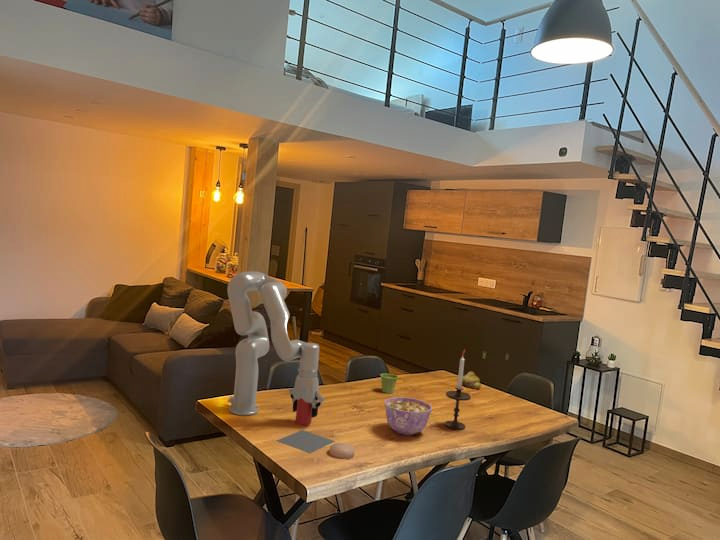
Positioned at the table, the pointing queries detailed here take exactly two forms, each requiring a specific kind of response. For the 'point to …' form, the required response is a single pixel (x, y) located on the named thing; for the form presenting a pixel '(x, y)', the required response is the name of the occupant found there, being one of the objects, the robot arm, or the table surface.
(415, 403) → the bowl of food
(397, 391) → the table surface
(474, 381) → the lumpy yellow-green gourd
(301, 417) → the beer can
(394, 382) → the plant pot
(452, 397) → the candlestick
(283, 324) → the robot arm
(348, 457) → the pinkish beige domed disc
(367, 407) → the table surface
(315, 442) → the slate mat
